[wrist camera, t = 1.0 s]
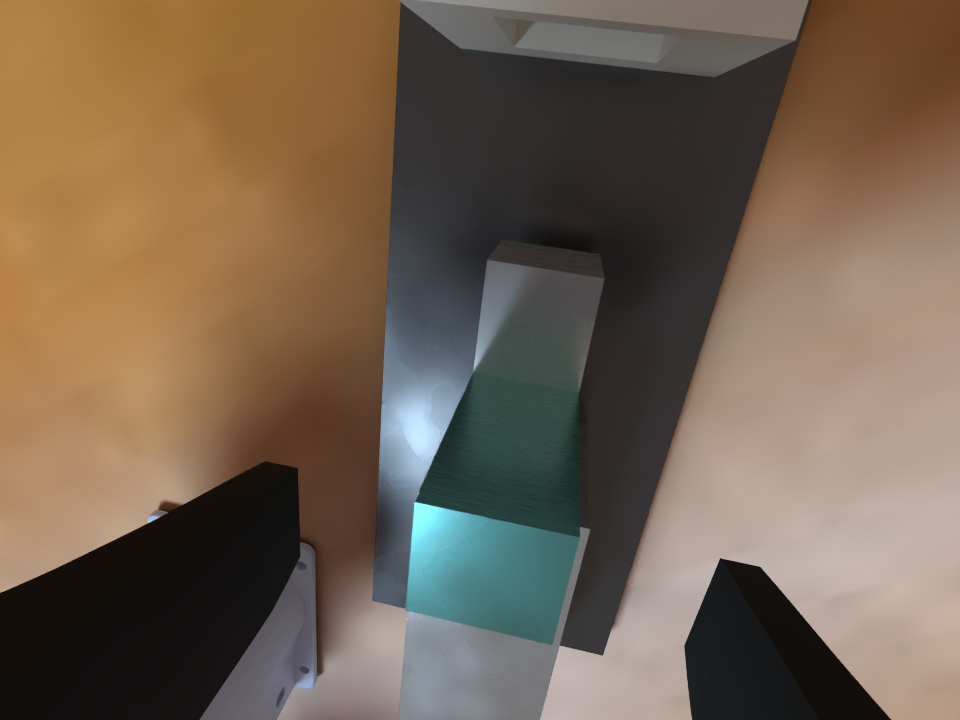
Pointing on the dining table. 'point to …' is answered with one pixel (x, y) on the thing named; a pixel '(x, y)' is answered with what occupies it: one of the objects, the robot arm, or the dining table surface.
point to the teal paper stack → (511, 453)
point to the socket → (621, 30)
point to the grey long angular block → (620, 316)
